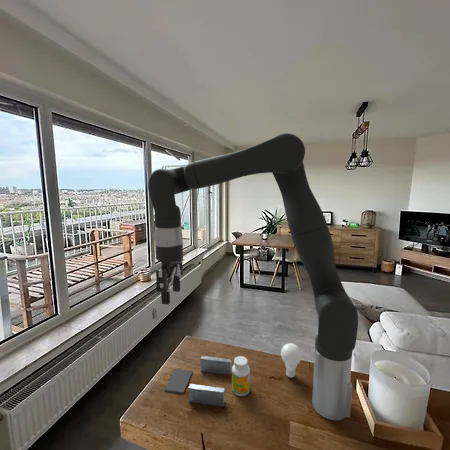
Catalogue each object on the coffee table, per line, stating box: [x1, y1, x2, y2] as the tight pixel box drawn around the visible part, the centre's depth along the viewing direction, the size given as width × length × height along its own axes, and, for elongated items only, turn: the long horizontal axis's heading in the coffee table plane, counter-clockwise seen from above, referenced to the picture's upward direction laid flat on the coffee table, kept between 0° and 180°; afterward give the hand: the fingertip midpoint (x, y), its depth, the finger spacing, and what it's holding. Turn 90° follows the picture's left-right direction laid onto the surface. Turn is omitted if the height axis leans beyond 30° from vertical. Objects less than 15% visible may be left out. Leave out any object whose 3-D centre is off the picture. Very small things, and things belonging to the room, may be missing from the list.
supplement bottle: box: [231, 355, 251, 397], centre depth 80 cm, size 5×5×10 cm
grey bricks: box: [188, 355, 232, 407], centre depth 82 cm, size 10×14×4 cm
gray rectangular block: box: [164, 368, 193, 395], centre depth 84 cm, size 6×9×1 cm, turn 170°
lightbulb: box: [280, 342, 303, 378], centre depth 85 cm, size 6×6×11 cm
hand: (171, 297), depth 77 cm, fingers open, 8 cm apart
